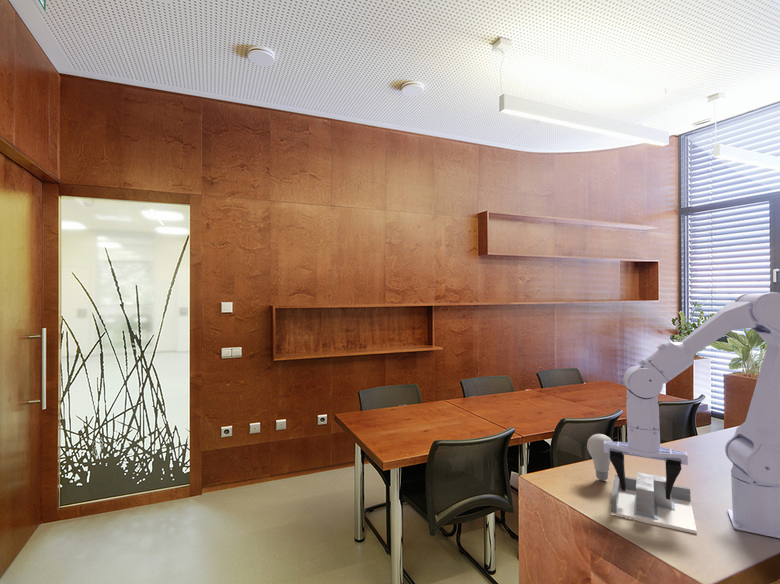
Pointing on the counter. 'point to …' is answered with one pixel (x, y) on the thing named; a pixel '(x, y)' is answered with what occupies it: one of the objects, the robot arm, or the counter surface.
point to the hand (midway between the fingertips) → (645, 493)
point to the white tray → (664, 516)
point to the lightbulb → (599, 455)
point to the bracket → (650, 493)
